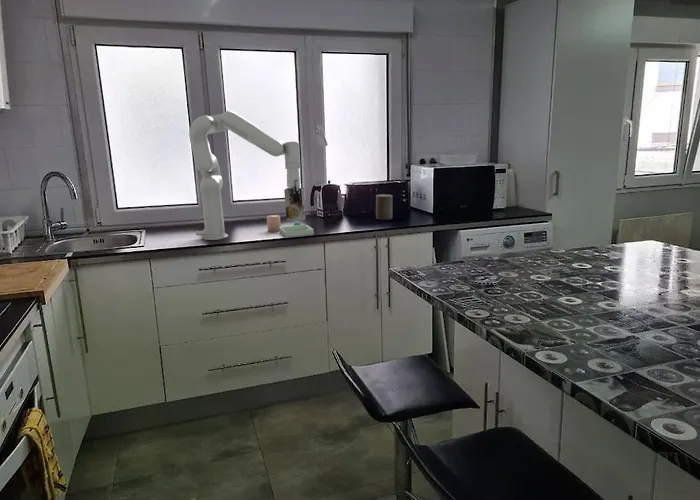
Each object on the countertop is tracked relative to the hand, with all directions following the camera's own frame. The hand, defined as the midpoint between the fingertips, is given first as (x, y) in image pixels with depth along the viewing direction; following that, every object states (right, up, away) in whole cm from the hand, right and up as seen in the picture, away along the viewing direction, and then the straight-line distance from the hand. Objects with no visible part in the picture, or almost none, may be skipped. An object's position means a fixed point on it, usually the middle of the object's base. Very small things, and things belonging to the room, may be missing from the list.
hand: (294, 200), depth 259 cm
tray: (0, -17, +4) cm, 17 cm away
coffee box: (0, -10, +2) cm, 10 cm away
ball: (-1, -13, +19) cm, 23 cm away
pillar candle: (+48, -7, +42) cm, 64 cm away
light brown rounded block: (-13, -15, +14) cm, 24 cm away
